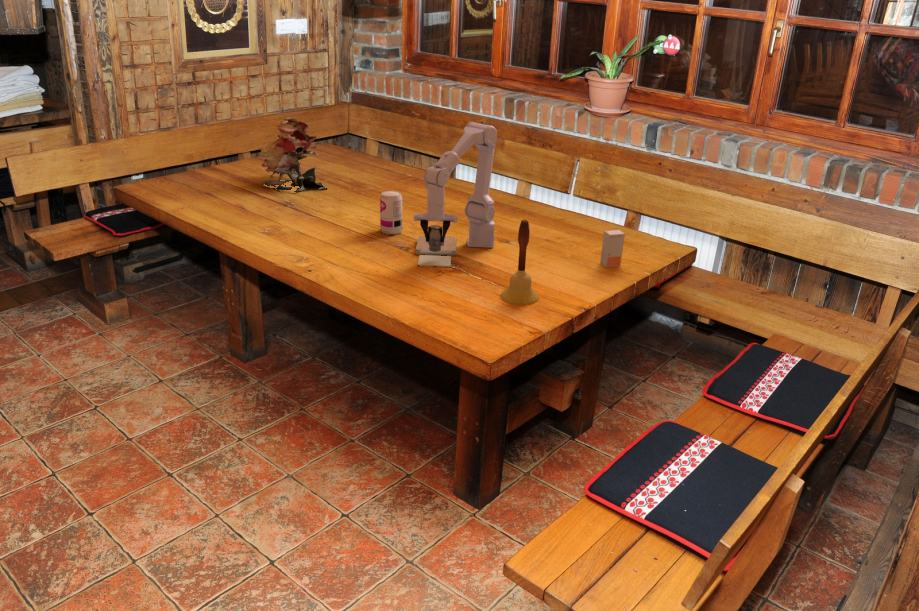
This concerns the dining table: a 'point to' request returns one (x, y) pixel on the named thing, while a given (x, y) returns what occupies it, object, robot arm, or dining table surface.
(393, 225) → the supplement can
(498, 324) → the dining table surface
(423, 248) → the housing plate
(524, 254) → the handbell
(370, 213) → the dining table surface
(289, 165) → the rose bouquet
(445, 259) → the pad
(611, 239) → the skincare box
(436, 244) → the grey metal cylinder
